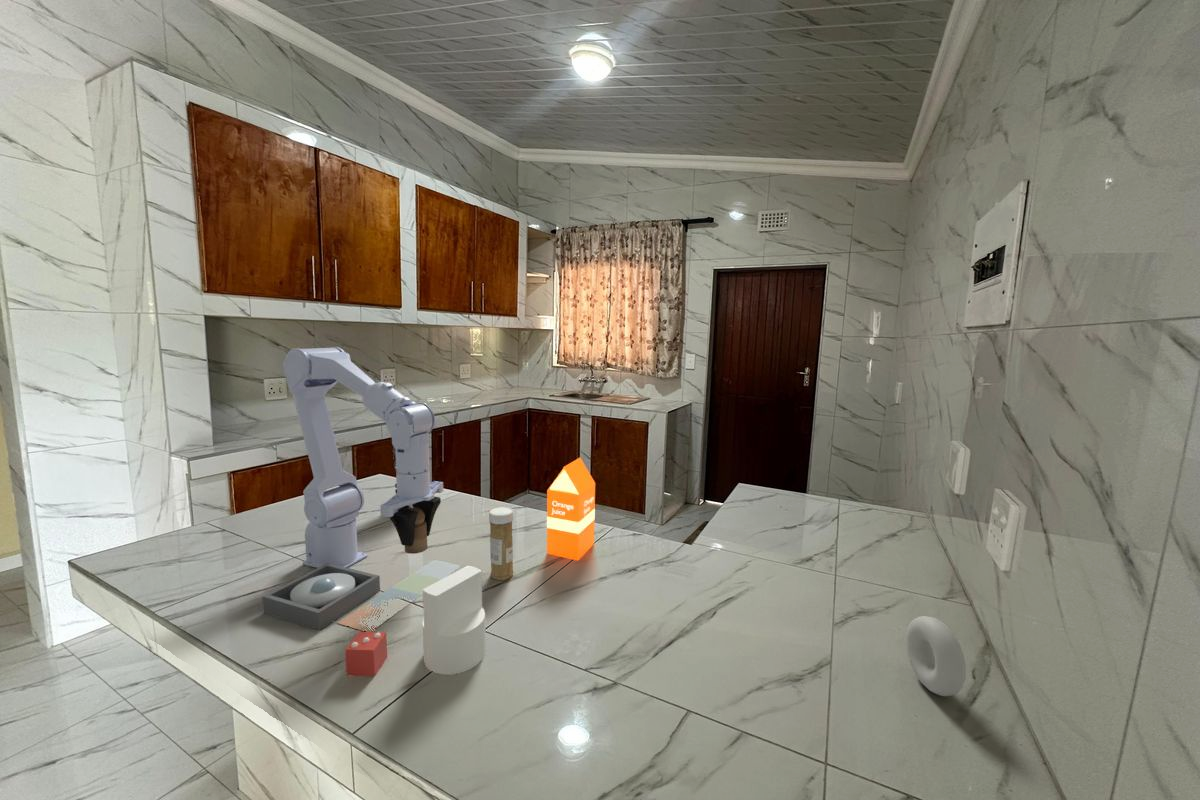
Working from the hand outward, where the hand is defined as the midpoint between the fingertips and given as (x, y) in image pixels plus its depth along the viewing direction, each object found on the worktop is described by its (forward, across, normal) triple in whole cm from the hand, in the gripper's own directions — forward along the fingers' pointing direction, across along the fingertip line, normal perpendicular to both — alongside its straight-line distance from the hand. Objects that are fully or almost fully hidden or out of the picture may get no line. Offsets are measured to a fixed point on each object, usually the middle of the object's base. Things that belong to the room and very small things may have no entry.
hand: (415, 539), depth 92 cm
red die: (+9, -21, -9) cm, 24 cm away
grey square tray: (+9, -11, +11) cm, 18 cm away
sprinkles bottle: (+9, +9, -13) cm, 18 cm away
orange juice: (+9, +25, -21) cm, 34 cm away
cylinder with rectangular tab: (+9, -14, -19) cm, 25 cm away
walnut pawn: (+2, 0, 0) cm, 2 cm away
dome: (+9, -11, +11) cm, 18 cm away
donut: (+9, +4, -85) cm, 86 cm away
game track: (+9, -3, 0) cm, 9 cm away
